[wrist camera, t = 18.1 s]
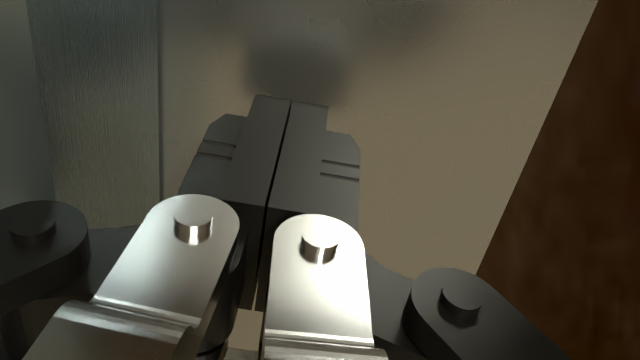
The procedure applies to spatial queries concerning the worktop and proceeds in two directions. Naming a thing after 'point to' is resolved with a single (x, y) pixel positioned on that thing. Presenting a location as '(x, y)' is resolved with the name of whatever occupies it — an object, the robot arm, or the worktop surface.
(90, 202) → the sliding jaw
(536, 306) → the worktop surface
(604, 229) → the worktop surface
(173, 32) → the vise base
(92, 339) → the robot arm
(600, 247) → the worktop surface
